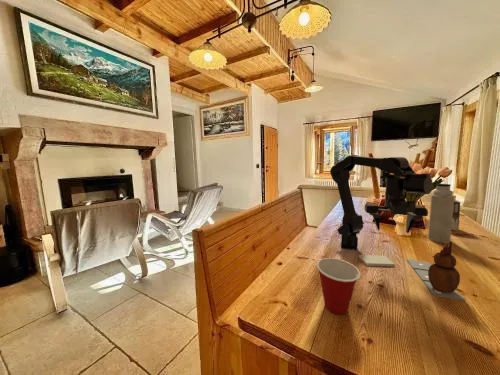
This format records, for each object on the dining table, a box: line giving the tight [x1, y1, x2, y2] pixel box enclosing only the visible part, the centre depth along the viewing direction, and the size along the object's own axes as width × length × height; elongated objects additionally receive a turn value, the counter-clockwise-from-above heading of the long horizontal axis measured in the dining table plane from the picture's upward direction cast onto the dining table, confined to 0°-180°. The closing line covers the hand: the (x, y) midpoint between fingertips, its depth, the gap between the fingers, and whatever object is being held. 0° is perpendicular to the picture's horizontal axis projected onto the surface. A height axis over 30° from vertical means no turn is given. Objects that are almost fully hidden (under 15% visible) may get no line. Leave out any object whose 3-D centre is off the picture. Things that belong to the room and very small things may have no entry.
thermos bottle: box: [427, 183, 455, 244], centre depth 98 cm, size 8×8×28 cm
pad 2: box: [413, 269, 430, 282], centre depth 68 cm, size 7×7×1 cm
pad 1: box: [406, 259, 432, 271], centre depth 75 cm, size 7×7×1 cm
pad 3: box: [423, 281, 466, 302], centre depth 61 cm, size 7×7×1 cm
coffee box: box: [451, 200, 461, 232], centre depth 115 cm, size 9×6×16 cm
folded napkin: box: [358, 254, 396, 268], centre depth 80 cm, size 10×7×1 cm
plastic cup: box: [316, 257, 361, 316], centre depth 54 cm, size 11×11×12 cm
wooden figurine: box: [428, 240, 461, 293], centre depth 60 cm, size 7×6×15 cm
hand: (392, 231), depth 76 cm, fingers open, 9 cm apart
